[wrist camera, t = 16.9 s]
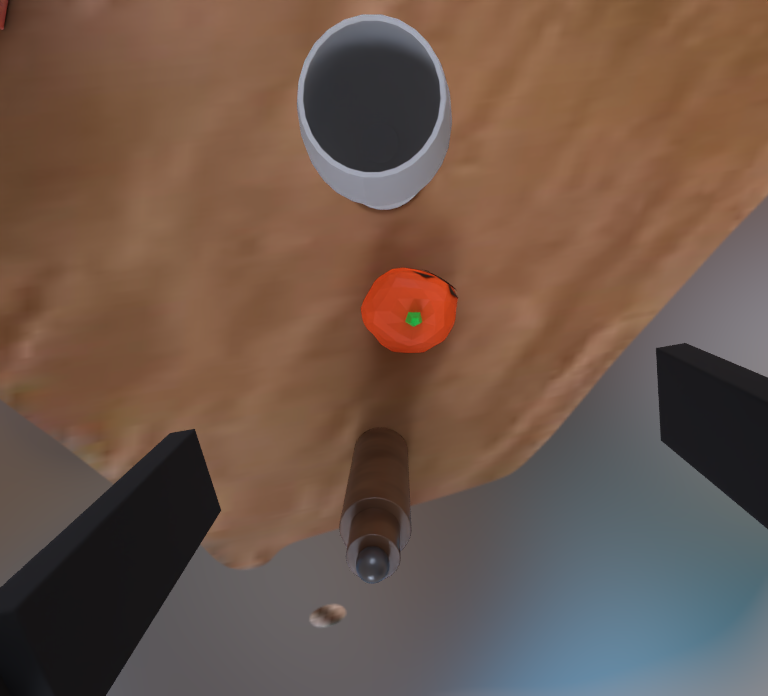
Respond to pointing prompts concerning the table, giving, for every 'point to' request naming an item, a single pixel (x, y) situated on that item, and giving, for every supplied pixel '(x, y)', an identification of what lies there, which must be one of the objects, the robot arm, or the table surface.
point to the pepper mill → (377, 505)
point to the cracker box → (3, 12)
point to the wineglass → (374, 110)
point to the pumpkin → (409, 310)
